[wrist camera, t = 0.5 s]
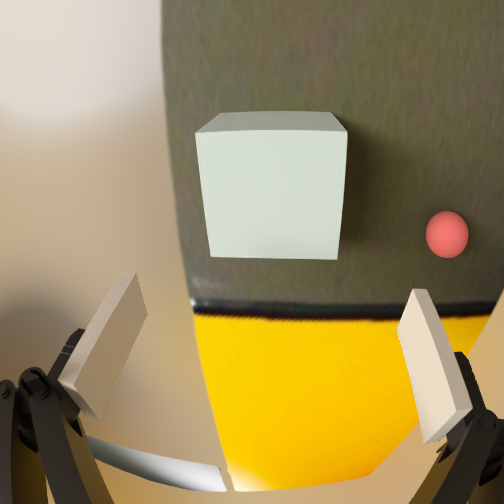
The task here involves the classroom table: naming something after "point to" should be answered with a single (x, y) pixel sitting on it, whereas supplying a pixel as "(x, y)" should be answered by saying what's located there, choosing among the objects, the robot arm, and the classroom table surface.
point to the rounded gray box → (273, 183)
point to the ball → (447, 234)
